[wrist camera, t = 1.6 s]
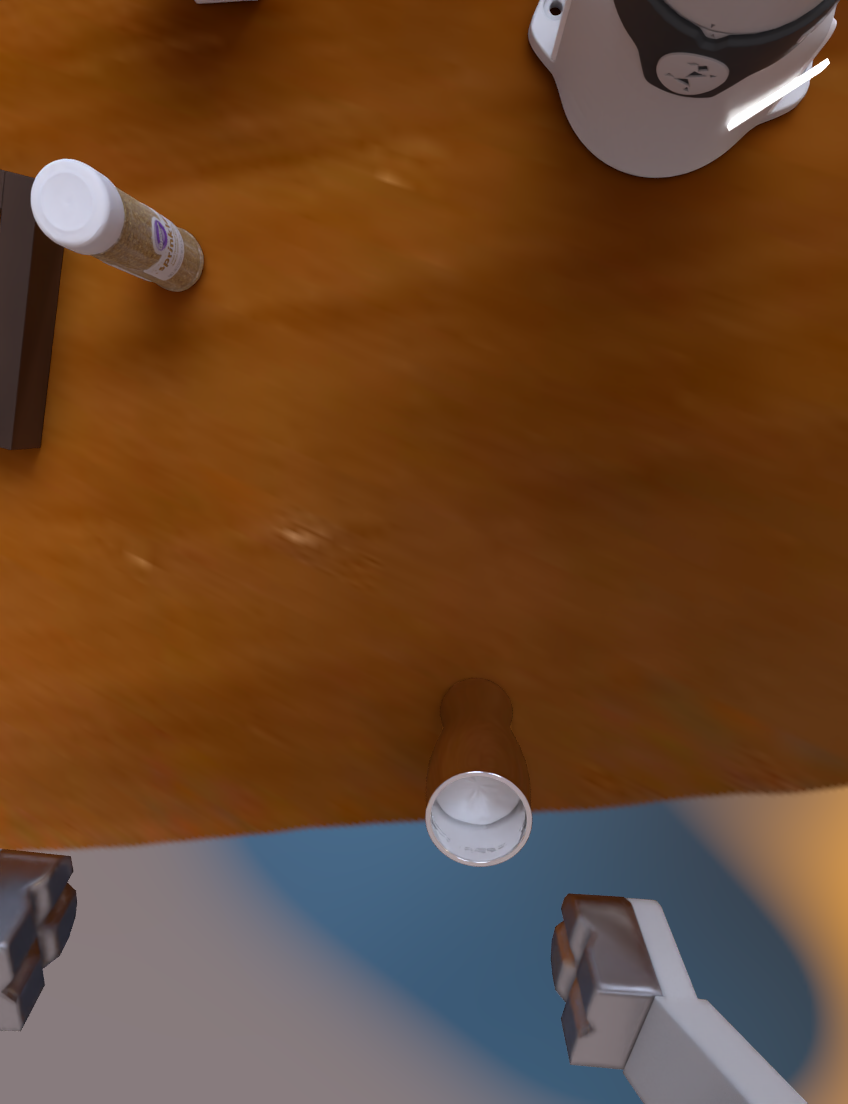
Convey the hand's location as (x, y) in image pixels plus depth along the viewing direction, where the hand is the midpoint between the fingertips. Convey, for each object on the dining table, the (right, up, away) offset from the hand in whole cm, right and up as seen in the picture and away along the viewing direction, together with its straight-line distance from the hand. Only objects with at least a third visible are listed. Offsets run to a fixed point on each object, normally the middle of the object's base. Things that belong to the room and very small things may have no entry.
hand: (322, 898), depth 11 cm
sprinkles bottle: (-17, +28, +38) cm, 50 cm away
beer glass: (+6, -8, +44) cm, 45 cm away
